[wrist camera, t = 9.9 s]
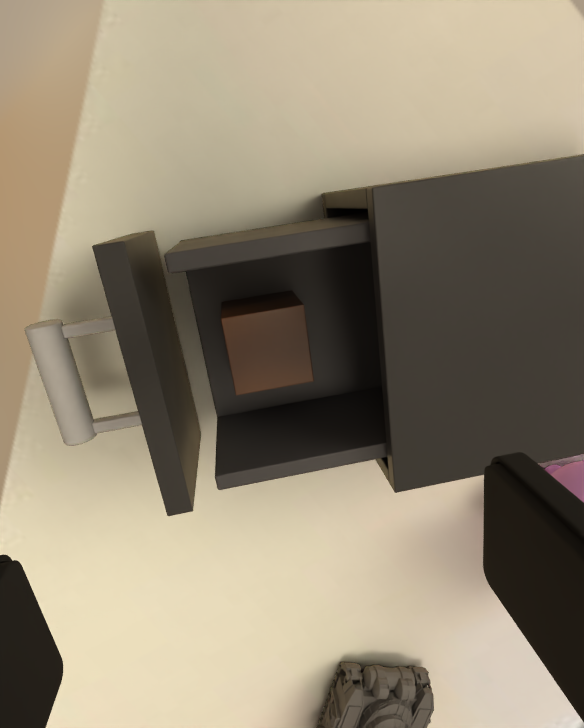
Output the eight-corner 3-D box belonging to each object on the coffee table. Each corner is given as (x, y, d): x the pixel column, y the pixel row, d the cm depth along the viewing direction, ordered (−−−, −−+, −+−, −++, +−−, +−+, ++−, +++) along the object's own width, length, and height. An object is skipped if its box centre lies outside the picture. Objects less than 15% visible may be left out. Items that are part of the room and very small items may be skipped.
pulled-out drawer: (104, 452, 28) (61, 538, 21) (38, 247, 24) (-42, 265, 17) (405, 395, 30) (463, 457, 23) (393, 194, 26) (459, 189, 18)
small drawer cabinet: (345, 409, 31) (394, 493, 22) (321, 193, 26) (371, 187, 17) (564, 368, 32) (696, 431, 23) (578, 155, 27) (750, 130, 18)
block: (221, 301, 25) (220, 318, 22) (292, 289, 26) (304, 304, 22) (234, 369, 27) (235, 396, 23) (302, 357, 27) (314, 381, 23)
